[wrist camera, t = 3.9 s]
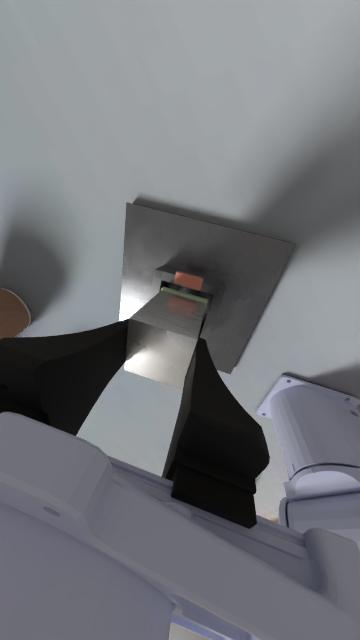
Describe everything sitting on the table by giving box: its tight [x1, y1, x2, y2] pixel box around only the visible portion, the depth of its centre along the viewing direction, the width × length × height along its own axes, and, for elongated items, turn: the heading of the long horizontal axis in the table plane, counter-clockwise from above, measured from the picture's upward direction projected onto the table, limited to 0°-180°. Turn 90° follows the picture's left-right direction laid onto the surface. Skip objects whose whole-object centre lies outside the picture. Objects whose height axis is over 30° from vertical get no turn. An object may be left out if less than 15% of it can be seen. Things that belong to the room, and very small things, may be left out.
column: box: [124, 287, 208, 389], centre depth 13 cm, size 4×4×7 cm
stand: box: [120, 203, 296, 374], centre depth 18 cm, size 16×16×5 cm
